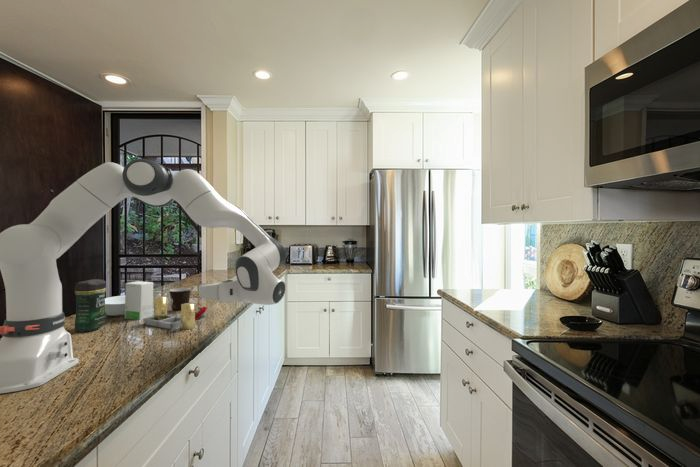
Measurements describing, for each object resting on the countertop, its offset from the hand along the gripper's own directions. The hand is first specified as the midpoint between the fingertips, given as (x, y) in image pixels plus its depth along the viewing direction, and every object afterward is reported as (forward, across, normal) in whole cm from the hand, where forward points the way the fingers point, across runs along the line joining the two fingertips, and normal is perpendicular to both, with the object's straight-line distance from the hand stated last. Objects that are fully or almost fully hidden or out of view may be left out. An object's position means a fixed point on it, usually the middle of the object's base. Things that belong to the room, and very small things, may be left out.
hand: (211, 285), depth 118 cm
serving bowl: (+59, -6, +18) cm, 62 cm away
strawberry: (+21, -12, +18) cm, 30 cm away
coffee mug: (+40, -18, +18) cm, 47 cm away
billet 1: (+28, 0, +16) cm, 32 cm away
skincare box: (+44, -2, +18) cm, 48 cm away
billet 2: (+12, 0, +18) cm, 21 cm away
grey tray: (+24, 0, +18) cm, 30 cm away
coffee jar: (+48, +14, +18) cm, 53 cm away
